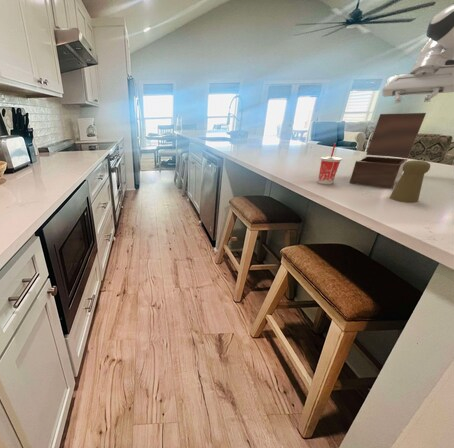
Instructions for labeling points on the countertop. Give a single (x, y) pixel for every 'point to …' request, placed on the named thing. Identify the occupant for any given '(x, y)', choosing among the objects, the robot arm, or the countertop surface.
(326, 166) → the beverage cup
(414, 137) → the lid
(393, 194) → the cork
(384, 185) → the chest
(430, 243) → the countertop surface
